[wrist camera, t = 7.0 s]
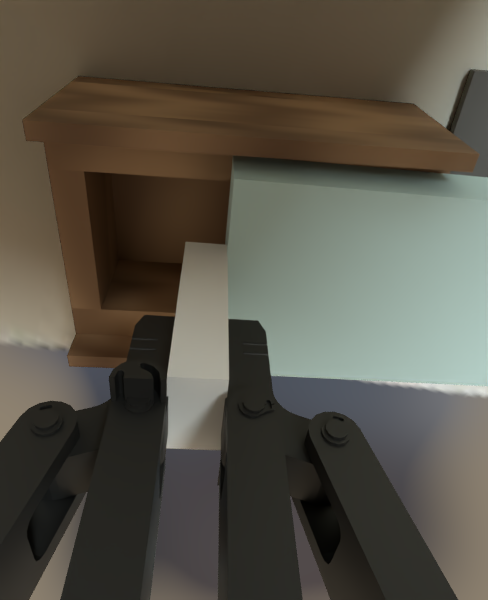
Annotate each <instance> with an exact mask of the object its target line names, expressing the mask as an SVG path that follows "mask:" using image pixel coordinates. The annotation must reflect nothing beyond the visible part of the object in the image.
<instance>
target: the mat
mask: <svg viewBox="0 0 488 600" xmlns="http://www.w3.org/2000/svg"><path fill="white" fill-rule="evenodd" d="M450 132H451V133H453V134H454V135H455V136H457V137H458V138H459V139H460V140H462V141H463V142H464V143H466V144H467V145H468V146H470V147H471V148H472V149H474V150H475V151H476V152H478V153H479V154H480V155H479V157H478V160H477V162H476V165H475V168H474V170H473V173H472V172H458V171H450V174H455V175H466V176H477V177H488V71H485V70H473V69H471V70H470V73H469V76H468V79H467V82H466V85H465V88H464V91H463V94H462V97H461V100H460V103H459V106H458V109H457V112H456V114H455V117H454V120H453V123H452V126H451V129H450Z"/></svg>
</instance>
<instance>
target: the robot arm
mask: <svg viewBox="0 0 488 600" xmlns="http://www.w3.org/2000/svg"><path fill="white" fill-rule="evenodd" d="M109 383H110V394H111V399H110V400H108V401H107V402H105V403H103V404H101V405H98V406H95V407H92V408H87V409H83V410H78V411H75V410H74V409H73V408H72V407H71V406H70V405H68V404H66V403H63V402H58V401H48V402H44V403H39V404H37V405H35V406H33V407H31V408H29V409H28V410H27V411H26V412H25V413H23V414H22V415H21V416H20V417H19V419H18V420H17V421H16V423H15V424H14V425H13V426H12V428H11V429H10V430H9V432H8V433H7V434H6V435H5V437H4V438H3V439H2V441H1V442H0V600H29V599H30V597H31V595H32V593H33V591H34V589H35V587H36V585H37V583H38V582H39V580H40V578H41V576H42V574H43V572H44V570H45V569H46V567H47V565H48V563H49V561H50V559H51V557H52V555H53V554H54V552H55V550H56V548H57V546H58V544H59V542H60V540H61V538H62V537H63V534H64V533H65V531H66V529H67V527H68V525H69V524H70V521H71V520H72V518H73V516H74V514H75V512H76V510H77V509H78V507H79V505H80V503H81V501H82V499H83V497H84V495H85V493H86V492H88V494H87V498H86V502H85V506H84V509H83V513H82V517H81V521H80V525H79V529H78V533H77V537H76V541H75V545H74V549H73V553H72V557H71V561H70V564H69V568H68V572H67V576H66V580H65V584H64V588H63V592H62V596H61V599H60V600H150V595H151V587H152V578H153V570H154V560H155V552H156V543H157V534H158V526H159V517H160V508H161V500H162V491H163V482H164V474H165V454H166V448H172V449H198V450H221V460H220V468H219V477H218V485H219V546H218V547H219V548H218V549H219V551H218V600H302V591H301V583H300V575H299V567H298V559H297V550H296V542H295V534H294V525H293V517H292V509H291V501H290V496H291V497H292V500H293V502H294V505H295V507H296V510H297V513H298V515H299V518H300V521H301V523H302V526H303V528H304V531H305V534H306V536H307V539H308V542H309V544H310V547H311V550H312V552H313V555H314V557H315V560H316V562H317V565H318V568H319V571H320V573H321V576H322V578H323V581H324V583H325V586H326V589H327V592H328V594H329V597H330V599H331V600H458V599H457V597H456V595H455V594H454V592H453V590H452V588H451V587H450V585H449V583H448V581H447V580H446V578H445V576H444V575H443V573H442V571H441V569H440V567H439V566H438V564H437V562H436V560H435V559H434V557H433V555H432V553H431V552H430V550H429V548H428V546H427V545H426V543H425V541H424V540H423V538H422V536H421V534H420V533H419V531H418V529H417V527H416V526H415V524H414V522H413V521H412V519H411V517H410V515H409V513H408V512H407V510H406V508H405V506H404V505H403V503H402V502H401V500H400V498H399V496H398V494H397V493H396V491H395V489H394V487H393V486H392V484H391V482H390V481H389V479H388V477H387V475H386V473H385V472H384V470H383V468H382V466H381V465H380V463H379V461H378V460H377V458H376V456H375V454H374V453H373V451H372V449H371V448H370V446H369V444H368V442H367V440H366V439H365V437H364V435H363V433H362V432H361V430H360V428H359V427H358V426H357V425H356V423H355V422H354V421H353V420H351V419H350V418H348V417H347V416H345V415H343V414H339V413H336V412H323V413H320V414H317V415H316V416H315V417H314V418H313V419H312V420H311V419H307V418H304V417H301V416H298V415H295V414H293V413H290V412H289V411H287V410H286V409H284V408H283V407H282V406H281V405H280V404H279V403H278V402H277V400H276V399H275V397H274V395H273V391H272V382H271V373H270V364H269V356H268V346H267V337H266V331H265V330H264V328H263V327H262V325H261V324H260V323H259V321H257V320H240V319H228V256H227V245H224V244H211V243H198V242H185V249H184V257H183V264H182V271H181V278H180V285H179V293H178V300H177V307H176V314H175V317H173V316H156V315H144V316H143V317H142V318H141V319H140V320H139V321H138V322H137V324H136V325H135V327H134V331H133V335H132V340H131V344H130V349H129V352H128V356H127V360H126V362H124V363H121V364H120V365H118V366H117V367H116V368H115V369H113V371H112V373H111V375H110V376H109Z"/></svg>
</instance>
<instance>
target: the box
mask: <svg viewBox="0 0 488 600" xmlns="http://www.w3.org/2000/svg"><path fill="white" fill-rule="evenodd" d="M22 122H23V127H24V132H25V137H26V141H39V142H44V147H45V153H46V159H47V165H48V171H49V177H50V183H51V189H52V195H53V201H54V206H55V212H56V218H57V224H58V230H59V236H60V242H61V248H62V254H63V260H64V265H65V271H66V277H67V283H68V289H69V295H70V301H71V307H72V313H73V319H74V325H75V330H76V335H75V338H74V340H73V343H72V345H71V348H70V350H69V353H68V355H67V357H68V362H69V366H75V367H103V368H116V367H117V366H118V365H120V364H121V363H124V362H126V360H127V356H128V352H129V349H130V344H131V340H132V335H133V331H134V327H135V325H136V324H137V322H138V321H139V320H140V319H141V318H142V317H143V316H144V315H156V316H173V317H175V314H176V307H177V300H178V293H179V285H180V278H181V271H182V264H183V257H184V249H185V242H198V243H211V244H224V245H225V239H226V228H227V217H228V205H229V194H230V183H231V172H232V160H233V155H235V156H249V157H263V158H276V159H288V160H299V161H310V162H321V163H333V164H344V165H355V166H366V167H377V168H388V169H399V170H410V171H422V172H433V173H444V174H450V171H458V172H472V173H473V170H474V168H475V165H476V162H477V160H478V157H479V155H480V154H479V153H478V152H476V151H475V150H474V149H472V148H471V147H470V146H468V145H467V144H466V143H464V142H463V141H462V140H460V139H459V138H458V137H457V136H455V135H454V134H453V133H451V132H450V131H449V130H447V129H446V128H445V127H443V126H442V125H441V124H439V123H438V122H437V121H436V120H434V119H433V118H432V117H430V116H429V115H428V114H426V113H425V112H424V111H422V110H421V109H420V108H419V107H417V106H416V105H415V104H411V103H398V102H386V101H374V100H362V99H350V98H337V97H325V96H313V95H301V94H289V93H277V92H264V91H252V90H240V89H228V88H216V87H203V86H191V85H179V84H167V83H155V82H143V81H130V80H118V79H106V78H94V77H82V76H78V77H77V78H75V79H74V80H73V81H71V82H70V83H69V84H68V85H66V86H65V87H64V88H63V89H61V90H60V91H59V92H57V93H56V94H55V95H54V96H52V97H51V98H50V99H48V100H47V101H46V102H45V103H43V104H42V105H41V106H39V107H38V108H37V109H36V110H34V111H33V112H32V113H30V114H29V115H28V116H27V117H25V118H24V119H23V120H22Z"/></svg>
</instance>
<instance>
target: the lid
mask: <svg viewBox="0 0 488 600" xmlns="http://www.w3.org/2000/svg"><path fill="white" fill-rule="evenodd" d="M225 245H227V256H228V319H240V320H257V321H259V323H260V324H261V325H262V327H263V328H264V330H265V331H266V337H267V346H268V356H269V364H270V373H271V376H287V377H307V378H329V379H348V380H369V381H390V382H411V383H432V384H453V385H474V386H488V177H477V176H466V175H455V174H444V173H433V172H422V171H410V170H399V169H388V168H377V167H366V166H355V165H344V164H333V163H321V162H310V161H299V160H288V159H276V158H263V157H249V156H235V155H233V160H232V172H231V183H230V194H229V205H228V217H227V228H226V239H225Z"/></svg>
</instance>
